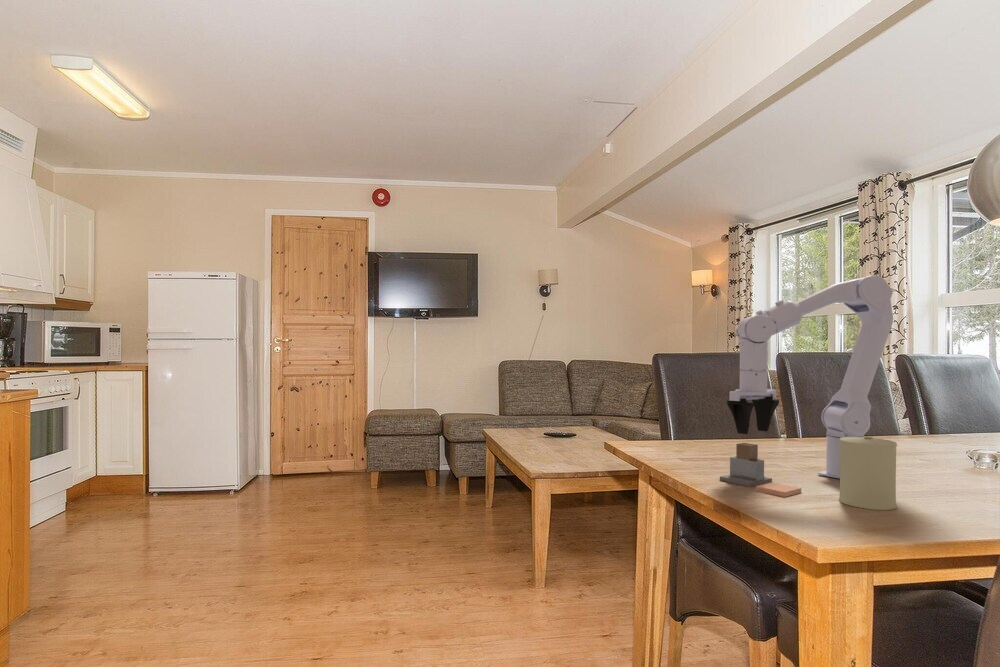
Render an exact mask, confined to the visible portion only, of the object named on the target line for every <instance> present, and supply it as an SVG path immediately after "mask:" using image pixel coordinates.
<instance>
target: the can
mask: <svg viewBox="0 0 1000 667" xmlns="http://www.w3.org/2000/svg"><path fill="white" fill-rule="evenodd" d="M897 446H898V444H897V442H895V441H893V440H890V439H889V440H888V439H883V438H877V437H876V438H874V437H872V436H864V437H843V438H840V479H839V496H838V501H839V502H840V503H841V502H842V504H843V503H844V505H846V506H849V505H850V506H849V507H853V508H858V507H859V509H863V508H864V509H865V510H871V509H873V510H874V511H890V510H895V509H897V507H898V505H897V495H896V494H897V493H896V492H897V484H896V482H897V480H896V478H897V477H896V476H897V472H896V471H897Z"/></svg>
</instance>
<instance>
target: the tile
mask: <svg viewBox="0 0 1000 667" xmlns="http://www.w3.org/2000/svg"><path fill="white" fill-rule="evenodd" d="M755 491H756V492H760V493H763V494H768V493H769V495H773V494H774V495H773V496H777V495H778V497H783V498H787V497H791V496H794V494H795V495H799V494H802V487H798V486H794V485H788V484H783V483H778V482H775V481H774V482H773V481H772V482H770V483H766V484H761V485H756V486H755ZM798 493H799V494H798ZM790 495H791V496H790Z"/></svg>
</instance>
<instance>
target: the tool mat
mask: <svg viewBox="0 0 1000 667" xmlns="http://www.w3.org/2000/svg"><path fill="white" fill-rule="evenodd" d="M719 481H723V482H726V483H729V484H730V483H731V484H734V485H738V486H739V485H740V486H743V487H749V488H751V487H756V486H759V485H763V484H767V483H772V482H773V478H772V477H767V476H764V480H759V481H752V480H747V479H742V478H738V477H733V476H730V474H725V475H720V476H719Z"/></svg>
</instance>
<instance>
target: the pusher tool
mask: <svg viewBox="0 0 1000 667" xmlns="http://www.w3.org/2000/svg"><path fill="white" fill-rule="evenodd" d="M758 445H759V444H754V443H749V442H741V443H736V451H735V452H736V453H735V454H736V455H735V456H733V455H732V456H730V457H729V475H730V476H733V477H738V478H742V479H747V480H752V481H759V480H764V477H765V460H764V459H759V458H758V457H759V456H758V452H759V451H758V450H759V446H758Z"/></svg>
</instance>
